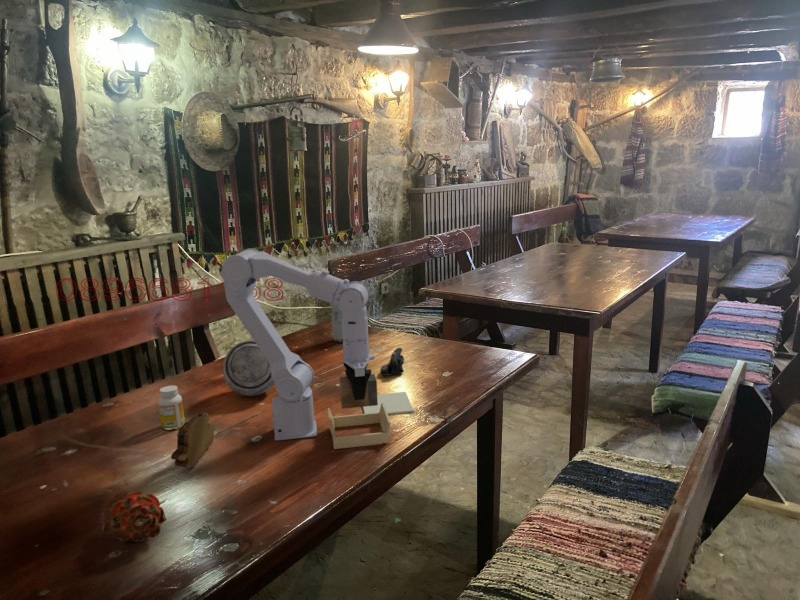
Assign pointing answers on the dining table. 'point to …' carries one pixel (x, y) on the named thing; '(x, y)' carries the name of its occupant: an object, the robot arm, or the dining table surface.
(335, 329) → the bottle
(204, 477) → the dining table surface
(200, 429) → the wooden carving
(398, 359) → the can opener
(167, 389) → the supplement bottle
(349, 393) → the block
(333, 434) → the wooden box
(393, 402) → the mat
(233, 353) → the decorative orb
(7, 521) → the dining table surface
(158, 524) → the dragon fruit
